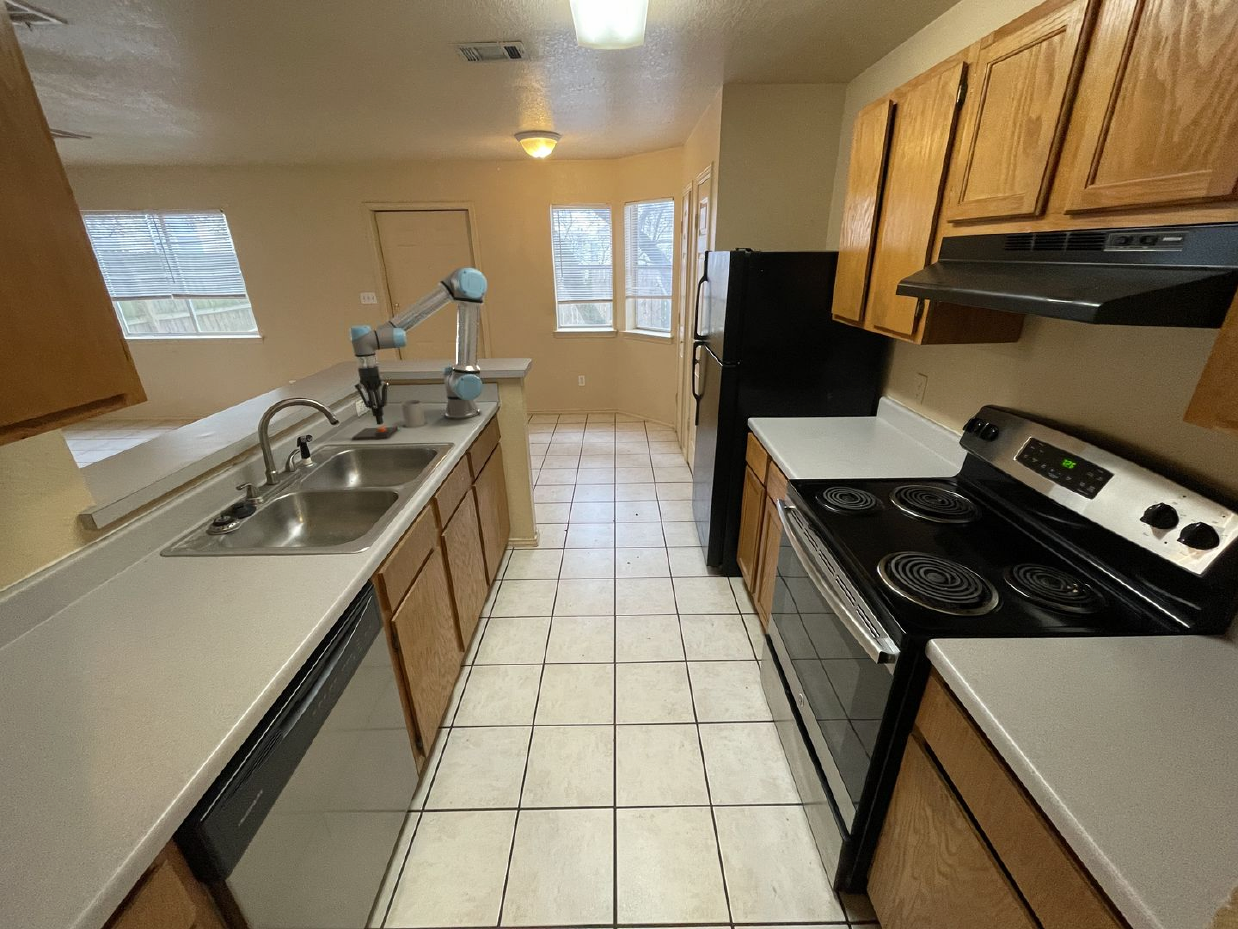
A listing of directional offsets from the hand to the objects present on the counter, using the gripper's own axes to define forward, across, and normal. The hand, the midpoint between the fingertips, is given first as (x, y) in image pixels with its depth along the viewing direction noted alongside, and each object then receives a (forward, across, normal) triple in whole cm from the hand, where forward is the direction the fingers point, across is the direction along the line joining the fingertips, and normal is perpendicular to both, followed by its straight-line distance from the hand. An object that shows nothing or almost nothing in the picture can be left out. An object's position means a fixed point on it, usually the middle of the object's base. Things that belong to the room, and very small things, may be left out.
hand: (380, 423), depth 208 cm
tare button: (+3, 0, 0) cm, 3 cm away
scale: (+6, -4, +4) cm, 8 cm away
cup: (+6, +8, +17) cm, 19 cm away
